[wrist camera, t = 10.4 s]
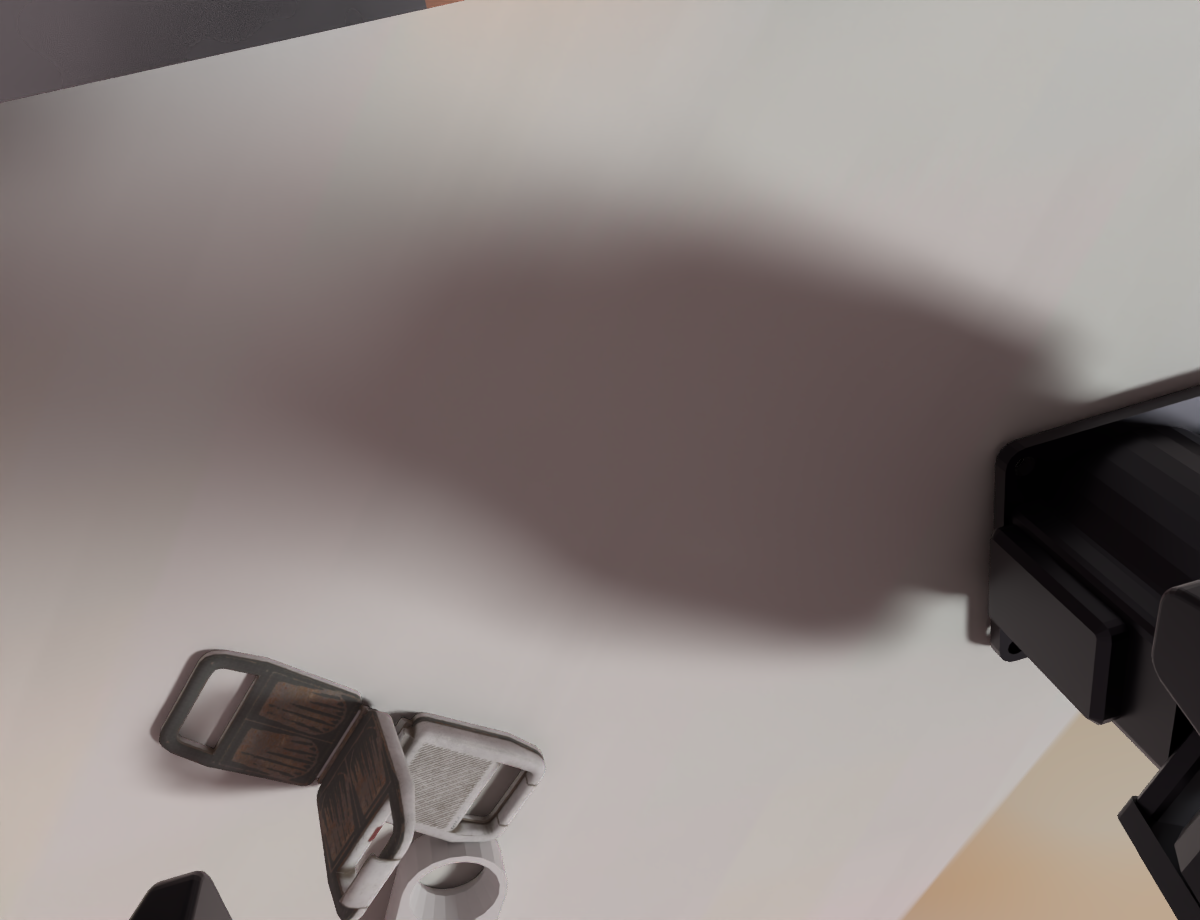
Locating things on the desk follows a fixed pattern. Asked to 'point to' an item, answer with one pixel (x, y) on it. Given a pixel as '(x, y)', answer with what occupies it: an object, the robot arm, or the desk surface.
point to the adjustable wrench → (452, 913)
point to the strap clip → (358, 766)
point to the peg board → (155, 34)
